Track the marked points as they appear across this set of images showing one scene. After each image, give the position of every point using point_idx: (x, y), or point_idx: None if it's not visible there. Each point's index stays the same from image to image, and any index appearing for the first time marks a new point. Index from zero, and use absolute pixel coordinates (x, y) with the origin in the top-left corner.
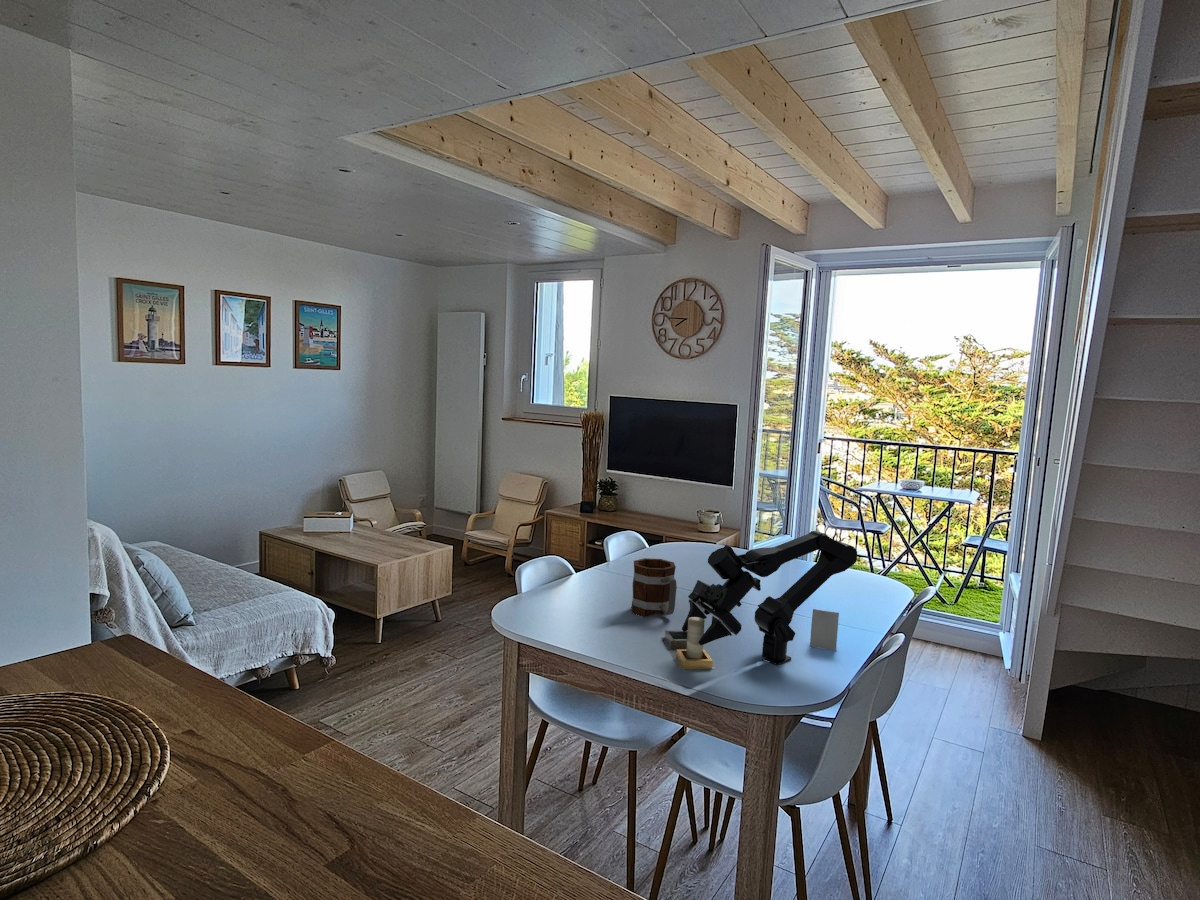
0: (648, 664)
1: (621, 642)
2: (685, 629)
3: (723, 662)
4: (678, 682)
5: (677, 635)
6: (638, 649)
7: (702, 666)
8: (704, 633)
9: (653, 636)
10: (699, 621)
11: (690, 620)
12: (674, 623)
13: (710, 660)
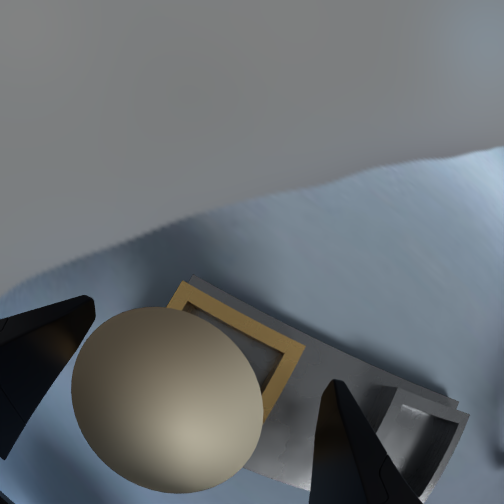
0: (322, 240)
1: (478, 277)
2: (324, 403)
3: (192, 493)
4: (153, 230)
5: (433, 455)
6: (433, 291)
7: None
8: (41, 321)
9: (480, 397)
10: (96, 385)
11: (175, 323)
12: (492, 489)
13: None
